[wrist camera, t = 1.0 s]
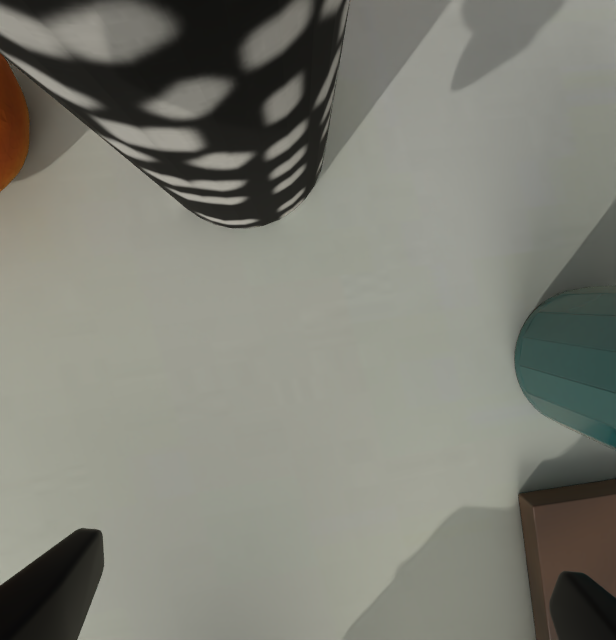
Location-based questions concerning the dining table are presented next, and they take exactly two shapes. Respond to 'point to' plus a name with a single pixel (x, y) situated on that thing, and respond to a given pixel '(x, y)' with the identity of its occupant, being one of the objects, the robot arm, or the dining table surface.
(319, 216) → the dining table surface
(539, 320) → the teal coffee mug
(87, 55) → the spotted tube
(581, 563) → the board
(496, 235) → the dining table surface
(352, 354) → the dining table surface
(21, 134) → the fruit
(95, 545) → the robot arm
